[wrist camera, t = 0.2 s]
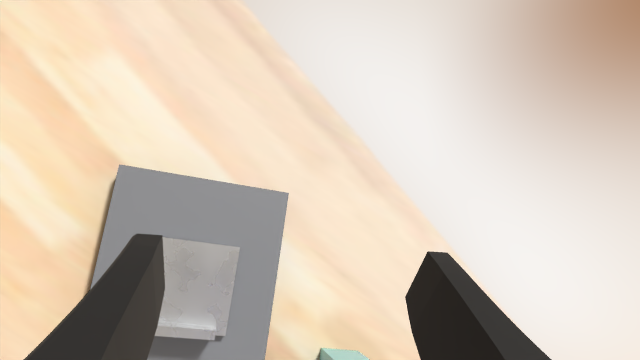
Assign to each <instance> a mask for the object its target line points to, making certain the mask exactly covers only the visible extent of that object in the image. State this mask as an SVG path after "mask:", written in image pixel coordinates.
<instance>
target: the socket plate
mask: <svg viewBox="0 0 640 360" xmlns="http://www.w3.org/2000/svg"><path fill="white" fill-rule="evenodd" d="M288 194H289V193H285V192H279V191H273V190H267V189H261V188H256V187H250V186H244V185H238V184H232V183H226V182H220V181H214V180H208V179H202V178H196V177H190V176H184V175H178V174H173V173H167V172H161V171H155V170H149V169H143V168H137V167H131V166H125V165H119V168H118V172H117V177H116V181H115V185H114V190H113V194H112V198H111V203H110V207H109V211H108V215H107V220H106V224H105V228H104V233H103V237H102V241H101V245H100V250H99V254H98V258H97V263H96V267H95V271H94V276H93V280H92V284H91V288H92V287H93V286H94V285H95V284H96V282H97V281H98V280H99V279H100V278H101V277H102V275H103V274H104V273H105V272H106V270H107V269H108V268H109V267H110V266H111V264H112V263H113V262H114V260H115V259H116V258H117V257H118V255H119V254H120V253H121V251H122V250H123V249H124V247H125V246H126V245H127V243H128V242H129V240H130V239H131V238H132V236H134V235H135V234H152V235H163V237H166V238H173V239H181V240H188V241H196V242H204V243H211V244H219V245H226V246H234V247H240V250H239V256H238V263H237V269H236V275H235V281H234V287H233V293H232V299H231V305H230V311H229V317H228V323H227V329H226V335H225V336H217V335H215V340H203V339H190V338H177V337H163V336H154V339H153V342H152V346H151V349H150V352H149V355H148V358H147V360H265V353H266V346H267V339H268V333H269V326H270V319H271V312H272V305H273V298H274V291H275V284H276V277H277V270H278V263H279V257H280V250H281V243H282V236H283V229H284V222H285V215H286V208H287V201H288ZM91 288H90V289H91Z"/></svg>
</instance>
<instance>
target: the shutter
mask: <svg viewBox="0 0 640 360" xmlns="http://www.w3.org/2000/svg"><path fill="white" fill-rule="evenodd" d="M239 250H240V247H234V246H226V245H219V244H211V243H204V242H196V241H188V240H181V239H173V238H166V237H163V255H164V275H165V291H164V297H163V302H162V307H161V312H160V317H159V321H158V326H157V330H156V333H155V336H163V337H177V338H190V339H203V340H215V335H217V336H225V335H226V329H227V323H228V317H229V311H230V305H231V299H232V293H233V287H234V281H235V275H236V269H237V263H238V256H239Z"/></svg>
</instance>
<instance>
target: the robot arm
mask: <svg viewBox="0 0 640 360" xmlns="http://www.w3.org/2000/svg"><path fill="white" fill-rule="evenodd" d="M164 291H165V275H164V255H163V235H152V234H135V235H134V236H132V238H131V239H130V240H129V242H128V243H127V245H126V246H125V247H124V249H123V250H122V251H121V253H120V254H119V255H118V257H117V258H116V259H115V260H114V262H113V263H112V264H111V266H110V267H109V268H108V269H107V270H106V272H105V273H104V274H103V275H102V277H101V278H100V279H99V280H98V281H97V282H96V284H95V285H94V286H93V287H92V288H91V289H90V291H89V292H88V293H87V294H86V295H85V296H84V297H83V299H82V300H81V301H80V302H79V303H78V304H77V305H76V307H75V308H74V309H73V310H72V311H71V312H70V313H69V314H68V315H67V316H66V317H65V318H64V319H63V320H62V321H61V323H60V324H59V325H58V326H57V327H56V328H55V329H54V330H53V331H52V332H51V333H50V334H49V335H48V336H47V337H46V338H45V339H44V340H43V341H42V342H41V343H40V344H39V345H38V346H37V347H36V348H35V349H34V350H33V351H32V352H31V353H30V354H29V355H28V356H27V357H26V358H25V359H24V360H147V358H148V355H149V352H150V349H151V346H152V342H153V339H154V336H155V333H156V330H157V326H158V321H159V317H160V312H161V307H162V302H163V297H164ZM405 298H406V303H407V309H408V315H409V320H410V325H411V330H412V333H413V337H414V340H415V343H416V346H417V349H418V353H419V356H420V359H421V360H551V359H550V358H549V357H548V356H547V355H546V354H545V353H544V352H542V351H541V350H540V349H539V348H538V347H537V346H536V345H535V344H534V343H533V342H532V341H531V340H530V339H529V338H528V337H527V336H526V335H525V334H524V333H523V332H522V331H521V330H520V329H519V328H518V327H517V326H516V325H515V324H514V323H513V322H512V321H511V320H510V319H509V318H508V317H507V316H506V315H505V314H504V313H503V312H502V311H501V310H500V309H499V308H498V307H497V305H496V304H495V303H494V302H493V301H492V300H491V299H490V298H489V297H488V296H487V295H486V294H485V293H484V292H483V290H482V289H481V288H480V287H479V286H478V285H477V284H476V283H475V282H474V281H473V280H472V278H471V277H470V276H469V275H468V274H467V273H466V272H465V271H464V270H463V269H462V268H461V266H460V265H459V264H458V263H457V262H456V261H455V260H454V259H453V258H452V257H451V256H450V255H449V254H448V253H443V252H427V254H426V256H425V258H424V260H423V262H422V264H421V266H420V268H419V270H418V272H417V274H416V276H415V278H414V280H413V282H412V284H411V287H410V289H409V291H408V293H407V295H406V297H405Z"/></svg>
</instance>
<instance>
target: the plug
mask: <svg viewBox="0 0 640 360" xmlns="http://www.w3.org/2000/svg"><path fill="white" fill-rule="evenodd" d="M320 360H370V359H368V358H367V357H365V356H364V355H363V354H361V353H360V352H358V351H353V350H340V349H327V348H321V353H320Z"/></svg>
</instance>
